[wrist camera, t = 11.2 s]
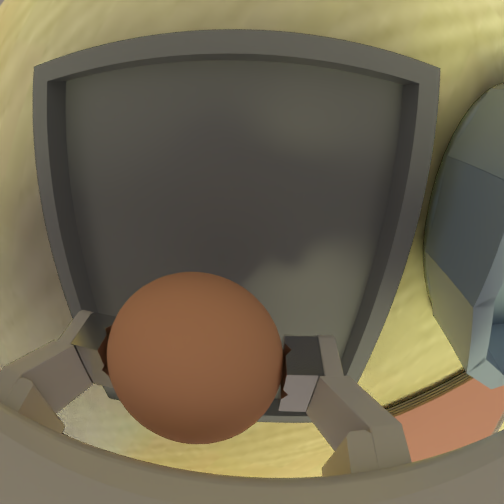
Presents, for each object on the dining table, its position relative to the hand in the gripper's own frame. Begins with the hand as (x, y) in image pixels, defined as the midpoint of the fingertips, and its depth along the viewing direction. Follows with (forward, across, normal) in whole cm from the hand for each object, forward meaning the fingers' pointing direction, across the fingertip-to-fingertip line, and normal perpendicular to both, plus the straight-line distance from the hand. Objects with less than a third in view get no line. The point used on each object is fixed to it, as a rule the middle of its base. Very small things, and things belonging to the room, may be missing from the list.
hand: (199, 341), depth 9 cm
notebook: (+5, +24, -19) cm, 31 cm away
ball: (+2, 0, 0) cm, 2 cm away
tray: (+4, 0, 0) cm, 4 cm away
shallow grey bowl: (+4, +16, +4) cm, 17 cm away
